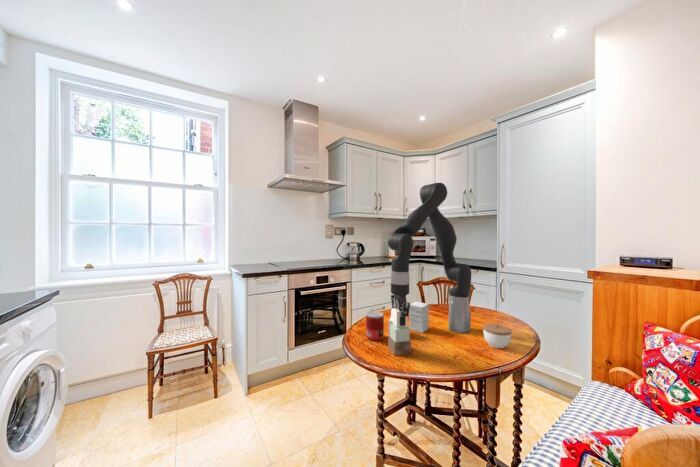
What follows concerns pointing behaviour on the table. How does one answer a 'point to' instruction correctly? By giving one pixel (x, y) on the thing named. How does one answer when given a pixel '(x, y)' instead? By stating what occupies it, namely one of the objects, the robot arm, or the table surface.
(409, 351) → the walnut base block
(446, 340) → the table surface
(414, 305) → the supplement box
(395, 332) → the sage block
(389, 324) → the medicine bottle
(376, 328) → the canned food
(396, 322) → the cream block
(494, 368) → the table surface
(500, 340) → the lidded jar
